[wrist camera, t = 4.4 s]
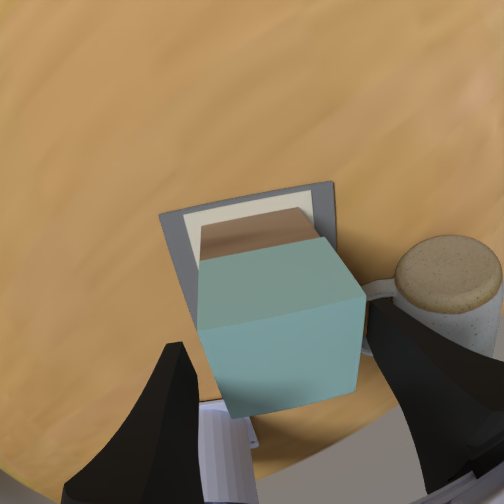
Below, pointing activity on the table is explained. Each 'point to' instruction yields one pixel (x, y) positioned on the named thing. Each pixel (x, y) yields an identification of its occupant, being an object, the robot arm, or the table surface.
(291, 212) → the walnut block
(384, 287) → the ceramic mug
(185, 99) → the table surface
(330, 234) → the mat
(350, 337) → the teal block
